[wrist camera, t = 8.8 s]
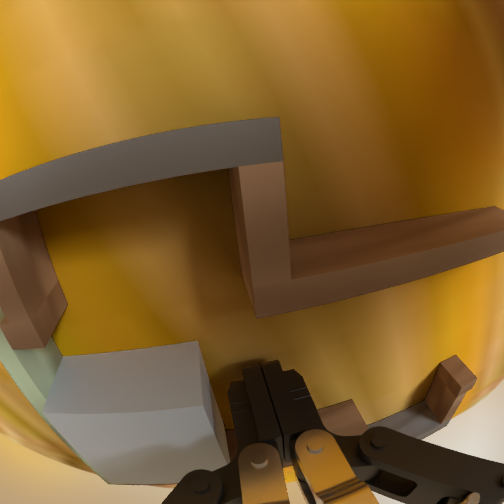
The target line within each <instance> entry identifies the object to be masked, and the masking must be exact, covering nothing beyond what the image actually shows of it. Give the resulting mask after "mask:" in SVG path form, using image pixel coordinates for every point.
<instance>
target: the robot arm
mask: <svg viewBox="0 0 504 504" xmlns="http://www.w3.org/2000/svg"><path fill="white" fill-rule="evenodd" d="M260 366H261V367H260ZM242 372H243V377H244V380H241V381H236V382H231V385H230V388H229V391H228V396H229V402H230V407H231V413H232V418H233V423H234V429H235V434H236V439H237V444H238V451H237V454H236V456H235V458H234V459H233V460H232V461H231V462H230V463H229V464H227V465H225V466H223V467H221V468H219V469H217V470H214V471H209V470H205V469H197V470H193V471H191V472H189V473H187V474H186V475H185V476H184V477H183V478H182V479H181V481H180V482H179V483H178V484H177V486H176V487H175V488H174V489H173V491H172V492H171V493H170V494H169V495H168V496H167V498H166V499H165V500H164V501H163V502H162V504H290V502H289V498H288V493H287V488H286V483H285V478H284V474H283V464H284V460H285V463H289V462H292V465H293V468H294V471H295V479H296V481H297V483H298V486H299V488H300V490H301V492H302V495H303V496H304V499H305V501H306V503H307V504H379V503H378V501H377V499H376V498H375V496H374V494H373V493H372V491H374V492H377V493H379V494H381V495H384V496H386V497H389V498H392V499H395V500H397V501H400V502H403V503H405V504H502V502H504V464H502V463H498V462H494V461H489V460H486V459H482V458H478V457H475V456H471V455H467V454H464V453H460V452H457V451H454V450H450V449H447V448H444V447H441V446H438V445H434V444H431V443H428V442H425V441H422V440H420V439H417V438H414V437H411V436H408V435H406V434H403V433H400V432H397V431H395V430H392V429H390V428H387V427H383V426H376V427H372V428H369V429H368V430H366V431H365V432H364V433H363V434H362V435H355V436H339V435H336V434H333V433H331V432H330V431H328V430H327V429H326V428H325V426H324V425H323V423H322V420H321V418H320V416H319V413H318V411H317V409H316V407H315V404H314V402H313V400H312V398H311V396H310V393H309V391H308V389H307V386H306V384H305V382H304V379H303V377H302V376H301V375H300V374H299V373H297V372H296V371H295V370H294V369H292V370H288V371H283V370H282V368H281V365H280V363H279V361H278V360H275V361H270V362H266V363H261V364H260V365H259V364H257V365H252V366H247V367H242ZM283 457H284V459H283Z"/></svg>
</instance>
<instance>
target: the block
mask: <svg viewBox="0 0 504 504" xmlns="http://www.w3.org/2000/svg"><path fill="white" fill-rule="evenodd" d="M42 413H43V414H44V416H45V417H46V418H47V419H48V420H49V421H50V423H51V424H52V425H53V426H54V427H55V428H56V430H57V431H58V432H59V433H60V434H61V435H62V436H63V437H64V438H65V440H66V441H67V442H68V443H69V444H70V445H71V446H72V447H73V448H74V449H75V450H76V451H77V452H78V453H79V454H80V455H81V456H82V457H83V458H84V459H85V460H86V461H87V462H88V463H89V464H90V465H91V466H92V467H93V468H94V469H96V470H97V471H98V472H99V473H100V474H101V475H102V476H103V477H104V478H106V479H107V480H108V481H109V482H110V483H111V484H173V483H179V482H180V481H181V479H182V478H183V477H184V476H185V475H186V474H187V473H189V472H191V471H193V470H197V469H205V470H209V471H214V470H217V469H219V468H221V467H223V466H225V465H227V464H229V463H230V457H229V452H228V446H227V440H226V434H225V428H224V423H223V420H222V417H221V414H220V411H219V408H218V405H217V402H216V399H215V396H214V393H213V390H212V386H211V383H210V380H209V377H208V373H207V370H206V367H205V363H204V360H203V357H202V353H201V350H200V346H199V343H198V340H197V341H191V342H185V343H178V344H172V345H165V346H158V347H150V348H142V349H134V350H126V351H117V352H108V353H98V354H87V355H74V356H63V358H62V360H61V363H60V365H59V368H58V370H57V373H56V376H55V378H54V381H53V384H52V386H51V389H50V392H49V395H48V397H47V400H46V403H45V406H44V409H43V412H42Z"/></svg>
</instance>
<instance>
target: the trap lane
mask: <svg viewBox="0 0 504 504" xmlns="http://www.w3.org/2000/svg"><path fill="white" fill-rule="evenodd" d="M226 168H228V173H229V181H230V189H231V196H232V204H233V212H234V219H235V227H236V235H237V242H238V250H239V257H240V264H241V272H242V277H243V280H244V283H245V286H246V289H247V292H248V295H249V298H250V301H251V304H252V307H253V310H254V313H255V315H256V318H257V319H259V318H264V317H269V316H274V315H278V314H283V313H288V312H292V311H297V310H301V309H306V308H310V307H315V306H319V305H323V304H328V303H332V302H336V301H340V300H344V299H348V298H352V297H356V296H360V295H364V294H368V293H371V292H375V291H379V290H383V289H386V288H390V287H393V286H397V285H401V284H404V283H408V282H411V281H415V280H418V279H421V278H425V277H428V276H431V275H435V274H438V273H441V272H444V271H447V270H451V269H454V268H457V267H460V266H463V265H466V264H469V263H472V262H475V261H478V260H481V259H484V258H487V257H490V256H492V255H495V254H498V253H501V252H504V210H502V209H500V208H498V207H496V206H493V207H486V208H480V209H474V210H468V211H461V212H455V213H449V214H443V215H437V216H431V217H424V218H418V219H412V220H406V221H400V222H394V223H388V224H382V225H376V226H370V227H364V228H358V229H352V230H346V231H340V232H334V233H328V234H322V235H316V236H310V237H304V238H298V239H292V240H289V232H288V217H287V202H286V189H285V176H284V164H283V152H282V141H281V130H280V120H279V117H272V118H260V119H250V120H240V121H232V122H224V123H216V124H209V125H202V126H196V127H190V128H184V129H178V130H172V131H167V132H162V133H157V134H152V135H147V136H142V137H138V138H133V139H129V140H124V141H120V142H116V143H112V144H108V145H104V146H101V147H97V148H93V149H90V150H86V151H82V152H79V153H76V154H72V155H69V156H66V157H63V158H59V159H56V160H53V161H50V162H47V163H44V164H41V165H38V166H36V167H33V168H30V169H27V170H25V171H22V172H19V173H17V174H14V175H11V176H9V177H6V178H4V179H2V180H0V361H1V362H2V364H3V365H4V367H5V368H6V370H7V371H8V373H9V374H10V376H11V377H12V379H13V380H14V382H15V383H16V384H17V386H18V387H19V389H20V390H21V391H22V393H23V394H24V395H25V397H26V398H27V399H28V401H29V402H30V403H31V404H32V406H33V407H34V408H35V409H36V411H37V412H38V413H39V414H40V416H41V417H42V418H43V419H44V420H45V422H46V423H47V424H48V425H49V426H50V427H51V428H52V430H53V431H54V432H55V433H56V434H57V435H58V436H59V437H60V438H61V439H62V441H63V442H64V443H65V444H66V445H67V446H68V447H69V448H70V449H71V450H72V451H73V452H74V453H75V454H76V455H77V456H78V457H79V458H80V459H81V460H82V461H83V462H84V463H85V464H86V465H88V466H89V467H90V468H91V469H92V470H93V471H94V472H95V473H96V474H97V475H99V476H100V477H101V478H102V479H103V480H104V481H106V482H107V483H108V484H111V483H110V482H109V481H108V480H107V479H106V478H104V477H103V476H102V475H101V474H100V473H99V472H98V471H97V470H96V469H94V468H93V467H92V466H91V465H90V464H89V463H88V462H87V461H86V460H85V459H84V458H83V457H82V456H81V455H80V454H79V453H78V452H77V451H76V450H75V449H74V448H73V447H72V446H71V445H70V444H69V443H68V442H67V441H66V440H65V438H64V437H63V436H62V435H61V434H60V433H59V432H58V431H57V430H56V428H55V427H54V426H53V425H52V424H51V423H50V421H49V420H48V419H47V418H46V417H45V416H44V414H43V413H42V412H43V409H44V406H45V403H46V400H47V397H48V395H49V392H50V389H51V386H52V384H53V381H54V378H55V376H56V373H57V370H58V368H59V365H60V363H61V360H62V358H63V357H62V355H61V353H60V351H59V349H58V348H57V346H56V344H55V342H54V340H53V338H52V336H51V335H52V333H53V331H54V329H55V328H56V326H57V324H58V322H59V320H60V318H61V316H62V314H63V312H64V311H65V309H66V307H67V305H68V303H67V301H66V299H65V296H64V294H63V291H62V289H61V286H60V284H59V281H58V279H57V276H56V273H55V271H54V268H53V265H52V262H51V259H50V257H49V254H48V251H47V248H46V245H45V242H44V238H43V235H42V232H41V229H40V225H39V222H38V218H37V215H36V211H35V210H37V209H41V208H44V207H48V206H51V205H55V204H58V203H62V202H65V201H69V200H73V199H77V198H81V197H85V196H89V195H93V194H97V193H101V192H105V191H109V190H114V189H118V188H122V187H127V186H132V185H136V184H141V183H146V182H151V181H156V180H161V179H166V178H172V177H177V176H183V175H188V174H194V173H200V172H206V171H213V170H219V169H226ZM476 380H477V377H476V376H475V375H474V374H473V373H472V372H471V371H470V369H469V368H468V367H467V366H466V365H465V364H464V363H463V362H462V361H461V360H460V359H459V358H458V357H457V355H455V356H453V357H451V358H449V359H447V360H445V361H443V362H441V363H440V365H439V367H438V370H437V372H436V375H435V377H434V380H433V382H432V384H431V387H430V389H429V391H428V393H427V395H426V398H425V400H424V401H422V402H420V403H418V404H416V405H414V406H412V407H410V408H408V409H406V410H403V411H401V412H399V413H397V414H394V415H392V416H390V417H387V418H385V419H383V420H380V421H378V422H375V423H373V424H370V425H368V426H367V425H366V424H365V422H364V420H363V418H362V416H361V414H360V413H359V411H358V409H357V407H356V405H355V404H354V402H353V400H352V399H351V400H348V401H345V402H342V403H339V404H336V405H333V406H330V407H327V408H323V409H320V410H317V411H318V413H319V416H320V418H321V420H322V423H323V425H324V426H325V428H326V429H327V430H328V431H330V432H331V433H333V434H336V435H339V436H355V435H362V434H363V433H364V432H365V431H366V430H368V429H369V428H372V427H376V426H383V427H387V428H390V429H392V430H395V431H397V432H400V433H403V434H406V435H408V436H411V437H414V438H417V439H420V440H422V439H424V438H425V437H427V436H429V435H431V434H433V433H435V432H436V431H438V430H440V429H442V428H443V427H445V426H447V424H448V423H449V421H450V420H451V418H452V416H453V415H454V413H455V411H456V410H457V408H458V406H459V405H460V403H461V401H462V399H463V398H464V396H465V394H466V392H467V391H469V390H470V389H472V387H473V385H474V384H475V382H476ZM225 434H226V440H227V446H228V452H229V457H230V462H231V461H232V460H233V459H234V458H235V456H236V454H237V451H238V444H237V439H236V434H235V429H234V430H228V431H225ZM283 459H284V457H283ZM289 466H293V465H292V462H289V463H285V460H284V464H283V468H285V467H289ZM173 484H178V483H173ZM117 485H165V484H117Z"/></svg>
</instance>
